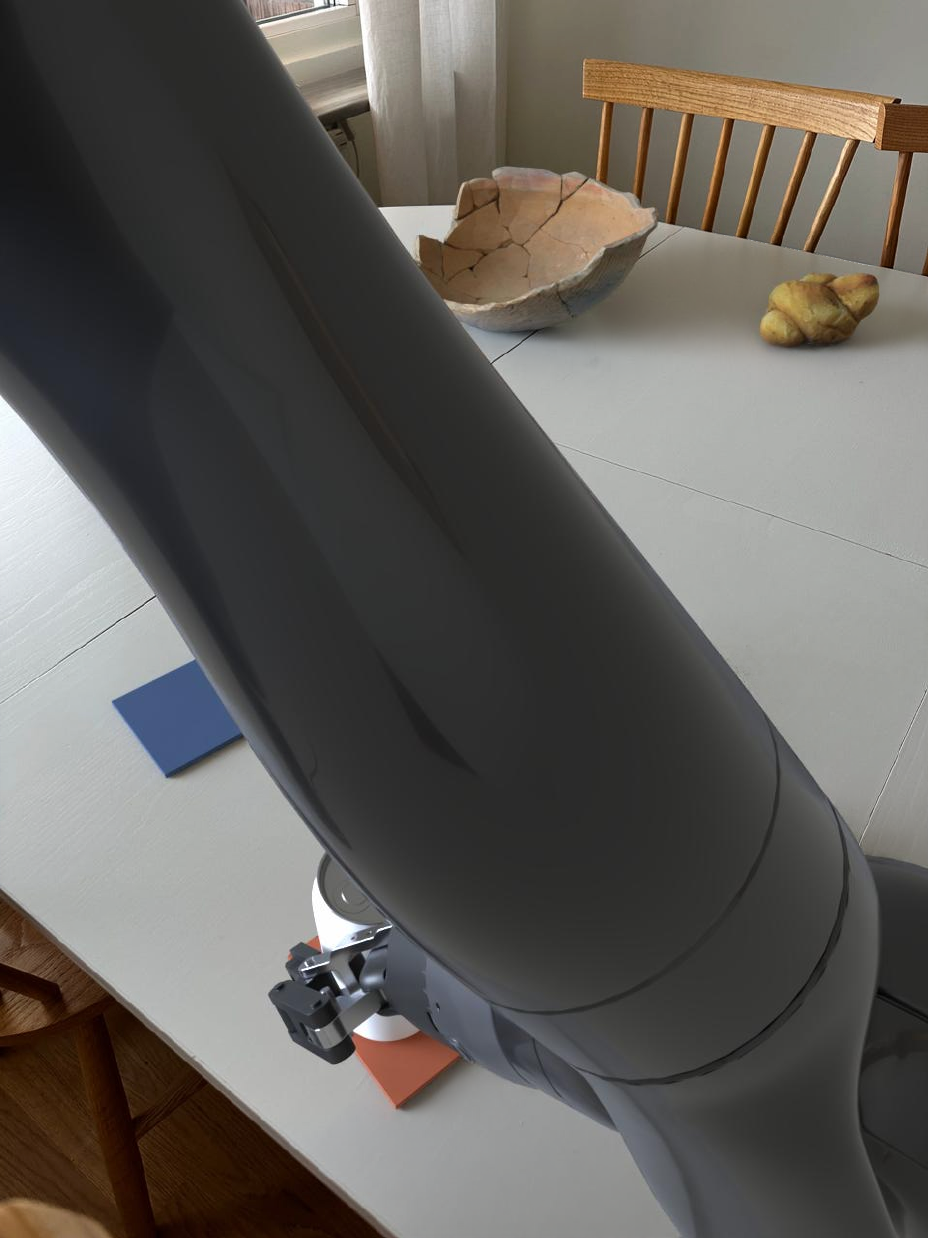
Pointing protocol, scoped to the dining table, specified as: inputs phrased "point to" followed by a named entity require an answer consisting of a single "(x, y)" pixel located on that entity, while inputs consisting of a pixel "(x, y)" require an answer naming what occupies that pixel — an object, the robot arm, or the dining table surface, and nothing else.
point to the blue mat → (178, 718)
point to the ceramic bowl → (534, 248)
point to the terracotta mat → (401, 1059)
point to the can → (343, 915)
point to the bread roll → (818, 309)
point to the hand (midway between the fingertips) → (371, 916)
